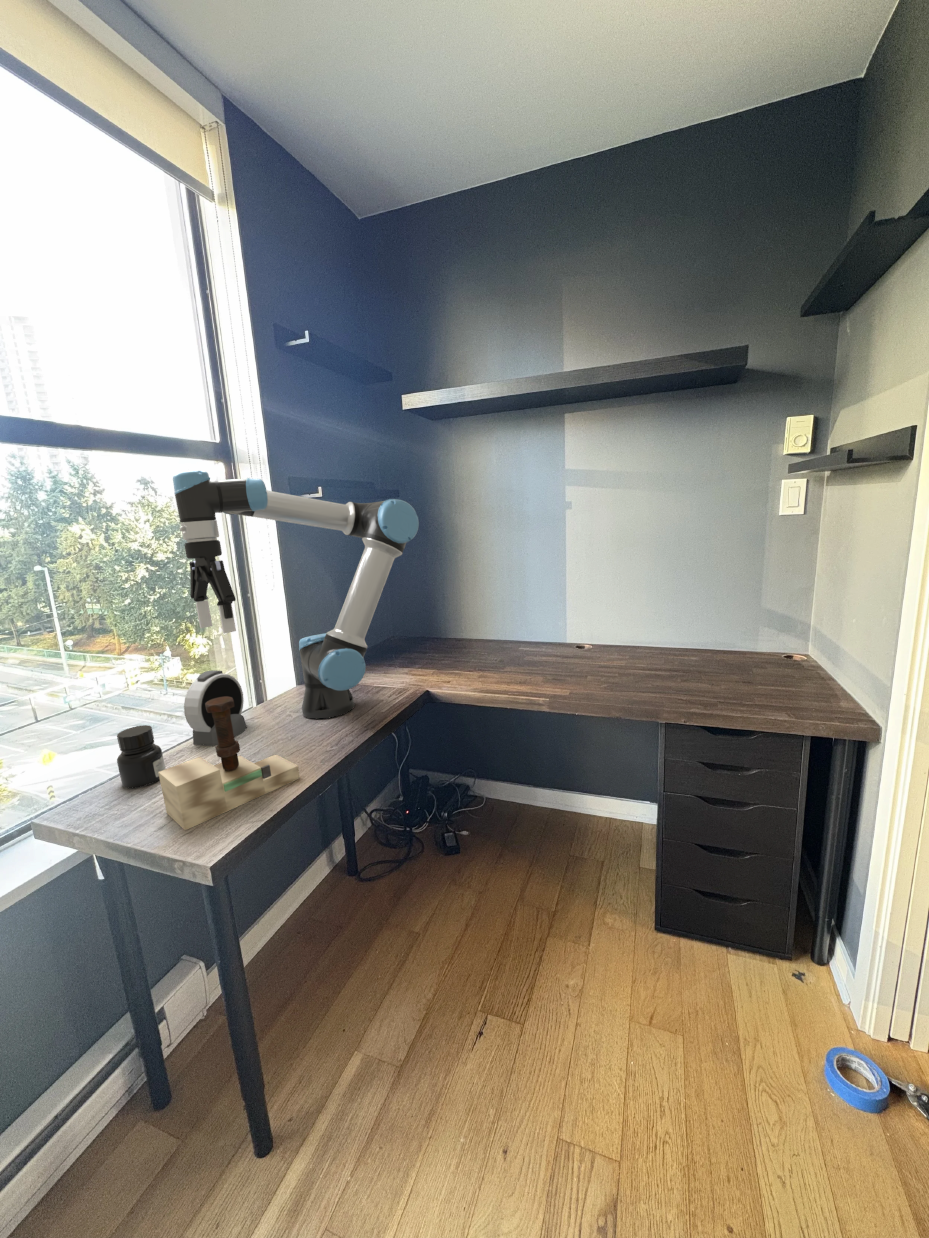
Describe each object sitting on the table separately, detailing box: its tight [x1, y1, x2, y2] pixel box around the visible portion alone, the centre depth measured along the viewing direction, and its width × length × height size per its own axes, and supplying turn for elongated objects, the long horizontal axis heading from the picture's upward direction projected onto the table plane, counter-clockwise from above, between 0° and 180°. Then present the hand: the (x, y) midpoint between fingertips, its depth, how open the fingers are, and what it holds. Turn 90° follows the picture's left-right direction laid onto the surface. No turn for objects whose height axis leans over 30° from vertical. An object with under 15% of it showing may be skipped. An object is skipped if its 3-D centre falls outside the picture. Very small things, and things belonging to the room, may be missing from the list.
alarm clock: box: [183, 670, 248, 747], centre depth 144 cm, size 16×10×18 cm, turn 161°
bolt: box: [205, 696, 241, 772], centre depth 109 cm, size 6×5×15 cm
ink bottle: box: [116, 724, 166, 789], centre depth 121 cm, size 10×9×12 cm
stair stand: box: [158, 754, 301, 831], centre depth 111 cm, size 24×11×9 cm, turn 137°
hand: (217, 629), depth 127 cm, fingers open, 13 cm apart
